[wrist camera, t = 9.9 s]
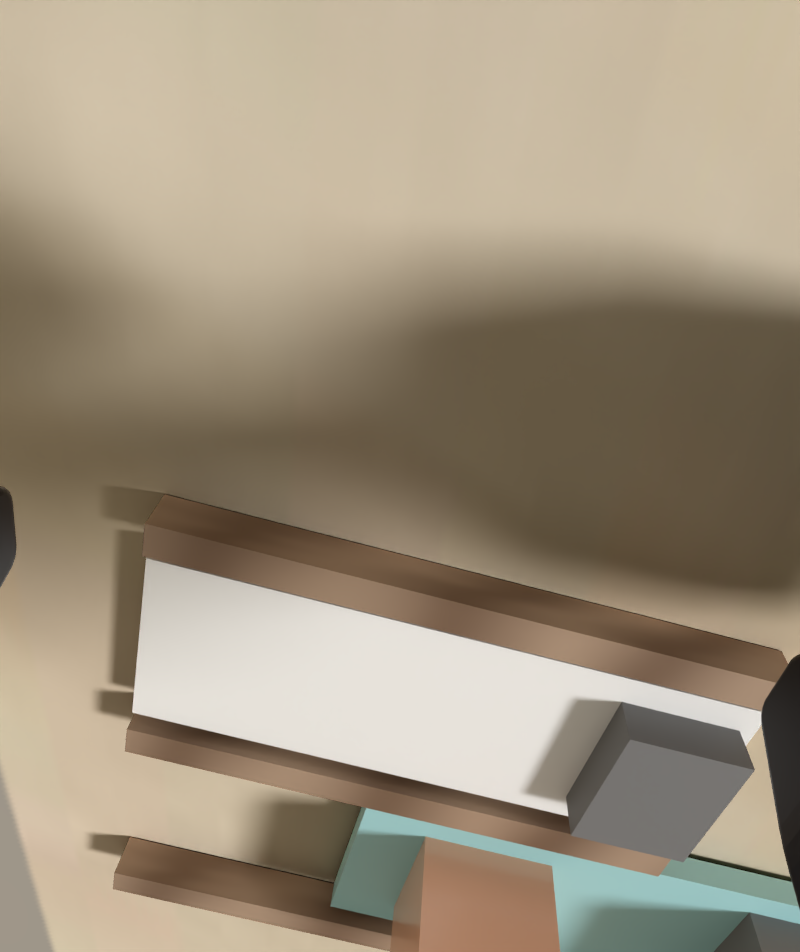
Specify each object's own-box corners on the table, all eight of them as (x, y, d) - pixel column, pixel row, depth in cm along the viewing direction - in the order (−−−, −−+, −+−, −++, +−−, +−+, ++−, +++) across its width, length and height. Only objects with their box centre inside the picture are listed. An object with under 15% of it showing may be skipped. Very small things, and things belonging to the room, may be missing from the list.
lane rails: (781, 651, 24) (800, 688, 22) (566, 952, 34) (570, 991, 32) (164, 494, 23) (144, 523, 21) (128, 852, 33) (112, 889, 31)
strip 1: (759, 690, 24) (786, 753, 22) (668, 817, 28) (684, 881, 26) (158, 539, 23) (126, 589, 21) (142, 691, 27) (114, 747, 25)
